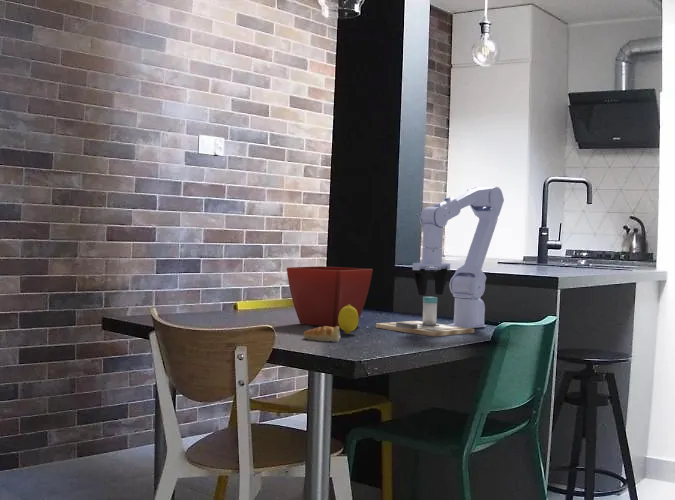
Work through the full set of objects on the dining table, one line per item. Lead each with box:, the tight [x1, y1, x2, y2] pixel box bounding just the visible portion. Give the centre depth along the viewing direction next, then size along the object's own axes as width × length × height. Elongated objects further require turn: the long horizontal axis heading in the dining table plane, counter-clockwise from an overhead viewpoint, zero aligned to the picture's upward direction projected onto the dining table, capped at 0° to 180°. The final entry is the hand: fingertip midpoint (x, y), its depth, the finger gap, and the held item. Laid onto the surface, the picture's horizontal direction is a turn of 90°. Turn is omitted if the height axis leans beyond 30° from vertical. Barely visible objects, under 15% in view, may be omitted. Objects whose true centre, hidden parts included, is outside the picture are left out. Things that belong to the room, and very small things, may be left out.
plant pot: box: [286, 265, 373, 328], centre depth 241 cm, size 19×19×17 cm
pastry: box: [303, 326, 341, 343], centre depth 207 cm, size 9×7×4 cm
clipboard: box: [375, 320, 475, 337], centre depth 236 cm, size 18×22×2 cm
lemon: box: [338, 305, 360, 335], centre depth 221 cm, size 6×6×8 cm
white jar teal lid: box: [422, 296, 438, 325], centre depth 237 cm, size 4×4×8 cm
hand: (430, 294), depth 237 cm, fingers open, 7 cm apart
